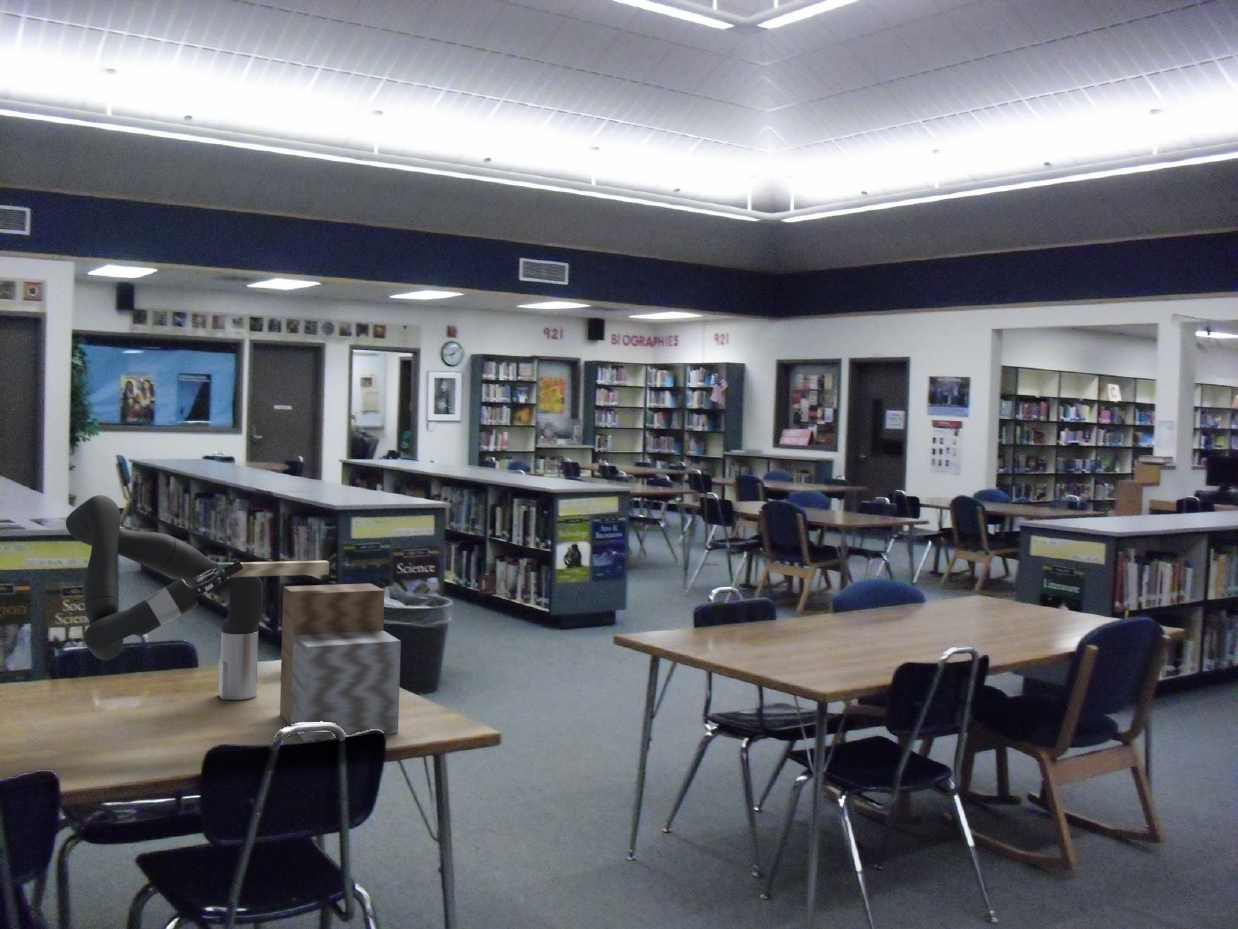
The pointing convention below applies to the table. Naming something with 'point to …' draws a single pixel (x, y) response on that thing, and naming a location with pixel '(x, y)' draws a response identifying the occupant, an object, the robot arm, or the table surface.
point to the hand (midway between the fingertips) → (239, 563)
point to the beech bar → (278, 568)
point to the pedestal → (338, 659)
